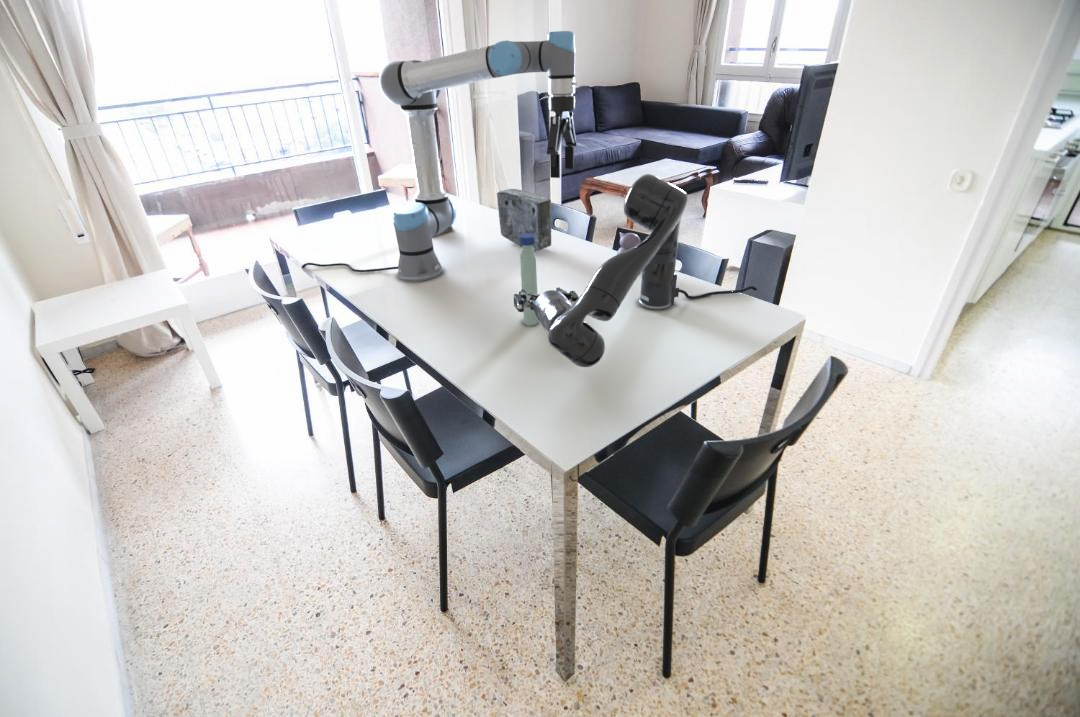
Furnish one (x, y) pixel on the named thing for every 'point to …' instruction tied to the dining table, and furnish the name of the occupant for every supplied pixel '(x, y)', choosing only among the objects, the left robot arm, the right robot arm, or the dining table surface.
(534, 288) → the bottle
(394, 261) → the dining table surface
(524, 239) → the cap
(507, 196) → the concrete block
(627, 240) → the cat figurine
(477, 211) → the dining table surface
